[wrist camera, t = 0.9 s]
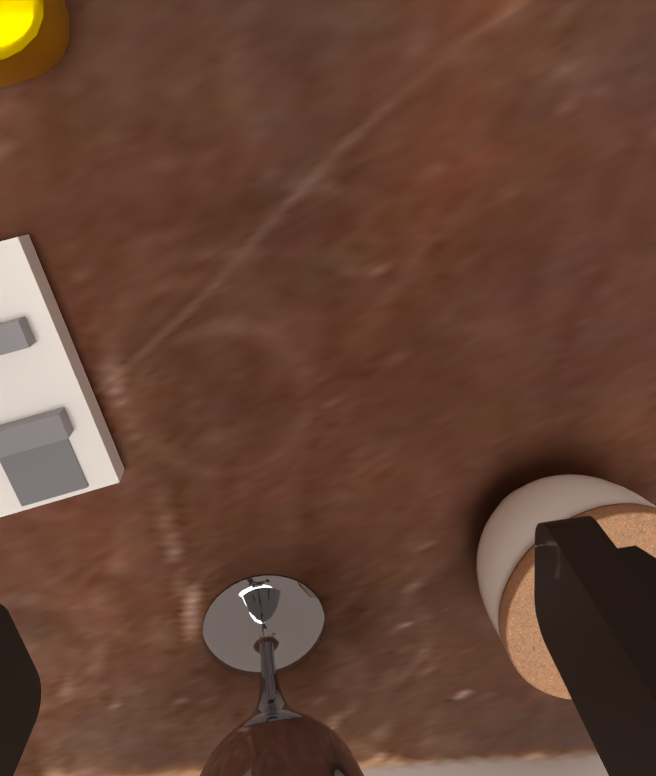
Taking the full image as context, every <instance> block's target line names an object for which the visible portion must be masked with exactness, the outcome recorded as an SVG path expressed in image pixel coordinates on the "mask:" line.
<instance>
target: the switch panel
mask: <svg viewBox="0 0 656 776" xmlns="http://www.w3.org/2000/svg"><path fill="white" fill-rule="evenodd" d="M123 472H124V466H123V464H122V462H121V459H120V457H119V454H118V452H117V449H116V447H115V444H114V442H113V440H112V437H111V435H110V432H109V430H108V427H107V425H106V422H105V420H104V417H103V415H102V413H101V410H100V408H99V405H98V403H97V400H96V398H95V395H94V393H93V391H92V388H91V386H90V383H89V381H88V378H87V376H86V373H85V371H84V369H83V366H82V364H81V361H80V359H79V356H78V354H77V351H76V349H75V346H74V344H73V342H72V339H71V337H70V334H69V332H68V329H67V327H66V324H65V322H64V320H63V317H62V315H61V312H60V310H59V307H58V305H57V302H56V300H55V298H54V295H53V293H52V290H51V288H50V285H49V283H48V280H47V278H46V275H45V273H44V271H43V268H42V266H41V263H40V261H39V258H38V256H37V253H36V251H35V249H34V246H33V244H32V241H31V239H30V236H29V234H28V235H24V236H19V237H15V238H12V239H8V240H4V241H0V517H3V516H6V515H10V514H13V513H17V512H20V511H23V510H27V509H30V508H34V507H37V506H41V505H44V504H47V503H51V502H54V501H58V500H61V499H65V498H68V497H71V496H75V495H78V494H82V493H85V492H88V491H92V490H95V489H99V488H102V487H106V486H109V485H112V484H116V483H119V482H120V480H121V477H122V474H123Z"/></svg>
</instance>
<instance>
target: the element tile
mask: <svg viewBox="0 0 656 776" xmlns="http://www.w3.org/2000/svg"><path fill="white" fill-rule="evenodd" d="M69 41H70V20H69V16H68V12H67V8H66V4H65V0H0V88H3V87H6V86H9V85H13V84H16V83H19V82H22V81H25V80H28V79H32V78H35V77H38V76H40V75H42V74H44V73H45V72H47V71H49V70H51V69H52V68H53V67H54V66H55V65H56V64H57V63H58V62H59V61H60V60H61V59H62V58H63V57H64V55H65V52H66V49H67V47H68V44H69Z"/></svg>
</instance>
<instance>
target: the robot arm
mask: <svg viewBox="0 0 656 776" xmlns="http://www.w3.org/2000/svg"><path fill="white" fill-rule="evenodd" d="M534 602H535V611H536V616H537V621H538V625H539V628H540V631H541V634H542V637H543V640H544V642H545V644H546V647H547V649H548V651H549V653H550V655H551V657H552V659H553V661H554V663H555V665H556V667H557V669H558V671H559V673H560V676H561V678H562V680H563V682H564V684H565V686H566V688H567V690H568V692H569V694H570V696H571V698H572V700H573V702H574V704H575V706H576V709H577V711H578V713H579V715H580V717H581V719H582V721H583V723H584V725H585V727H586V729H587V731H588V733H589V735H590V737H591V739H592V742H593V744H594V746H595V748H596V750H597V752H598V754H599V756H600V758H601V760H602V762H603V764H604V766H605V768H606V770H607V772H608V774H609V776H656V558H655V557H653V556H652V555H650V554H649V553H647V552H645V551H644V550H642V549H641V548H639V547H638V546H629V547H622V548H617V547H616V546H615V545H614V543H613V542H612V541H611V539H610V538H609V537H608V535H607V534H606V533H605V531H604V530H603V529H602V527H601V526H600V525H599V523H598V522H597V521H596V520H595V519H594V518H593V517H591V516H581V517H575V518H568V519H561V520H555V521H548V522H542V523H538V524H537V526H536V529H535V576H534ZM40 701H41V684H40V678H39V675H38V672H37V670H36V668H35V666H34V664H33V662H32V659H31V657H30V655H29V653H28V651H27V649H26V647H25V645H24V643H23V641H22V639H21V637H20V635H19V633H18V630H17V628H16V626H15V624H14V622H13V620H12V618H11V616H10V614H9V612H8V610H7V609H6V608H5V607H4V606H3V605H1V604H0V776H13V775H14V772H15V770H16V768H17V765H18V763H19V760H20V758H21V755H22V753H23V751H24V748H25V746H26V743H27V741H28V739H29V736H30V734H31V731H32V729H33V726H34V724H35V722H36V719H37V716H38V712H39V708H40Z"/></svg>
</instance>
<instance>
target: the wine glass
mask: <svg viewBox="0 0 656 776" xmlns="http://www.w3.org/2000/svg"><path fill="white" fill-rule="evenodd" d="M324 627H325V614H324V610H323V606H322V604H321V602H320V600H319V598H318V597H317V596H316V594H315V593H314V592H313V591H312V590H311V589H310V588H308V587H307V586H306V585H305V584H303V583H301V582H299V581H297V580H295V579H292V578H289V577H286V576H279V575H260V576H253V577H250V578H246V579H243V580H241V581H239V582H236V583H234V584H232V585H231V586H229V587H228V588H226V589H225V590H224V591H222V592H221V593H220V594H219V595H218V596H217V597H216V598H215V599H214V601H213V602H212V603H211V605H210V606H209V608H208V610H207V612H206V614H205V617H204V621H203V628H202V634H203V641H204V644H205V646H206V649H207V650H208V652H209V654H210V655H211V657H212V658H213V659H214V660H215V661H216V662H217V663H218V664H219V665H221V666H222V667H224V668H225V669H227V670H229V671H231V672H233V673H236V674H240V675H243V676H251V677H261V678H260V691H259V699H258V703H257V706H256V708H255V710H254V712H253V714H252V715H251V716H250V717H249V718H248V719H246V720H245V721H244V722H242V723H241V724H240V725H239V726H237V727H236V728H235V729H233V730H232V731H231V732H230V733H229V734H228V735H227V736H226V737H225V738H224V739H223V740H222V741H221V742H220V743H219V745H218V746H217V747H216V748H215V749H214V751H213V752H212V753H211V755H210V756H209V758H208V760H207V762H206V764H205V766H204V768H203V770H202V772H201V775H200V776H364V774H363V773H362V771H361V769H360V767H359V765H358V763H357V761H356V759H355V757H354V756H353V754H352V752H351V750H350V749H349V748H348V746H347V745H346V743H345V742H344V741H343V739H342V738H341V737H340V736H339V735H338V734H337V733H336V732H335V731H334V730H332V729H331V728H329V727H328V726H327V725H325V724H324V723H322V722H321V721H319V720H317V719H315V718H313V717H311V716H309V715H306V714H304V713H301V712H299V711H296V710H294V709H292V708H291V707H290V706H289V705H288V704H287V702H286V701H285V699H284V697H283V694H282V691H281V687H280V684H279V680H278V676H277V674H280V673H283V672H286V671H288V670H290V669H292V668H294V667H296V666H297V665H299V664H300V663H302V662H303V661H304V660H306V659H307V658H308V657H309V656H310V655H311V654H312V652H313V651H314V650H315V649H316V647H317V646H318V644H319V642H320V640H321V638H322V635H323V632H324Z"/></svg>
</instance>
